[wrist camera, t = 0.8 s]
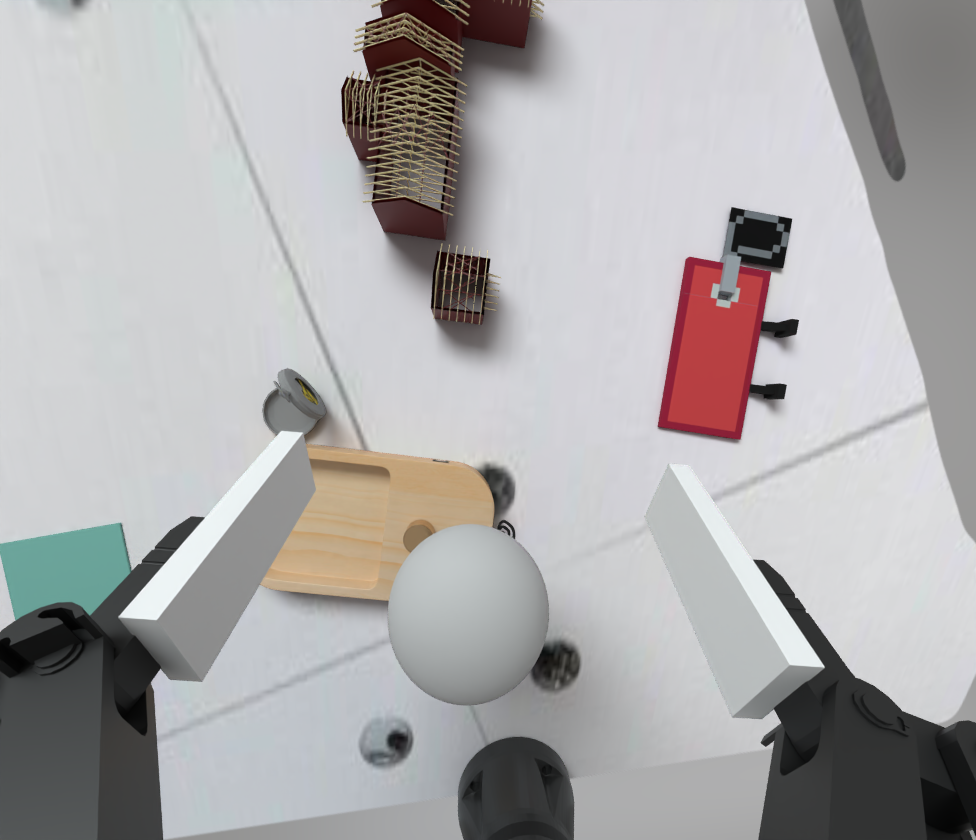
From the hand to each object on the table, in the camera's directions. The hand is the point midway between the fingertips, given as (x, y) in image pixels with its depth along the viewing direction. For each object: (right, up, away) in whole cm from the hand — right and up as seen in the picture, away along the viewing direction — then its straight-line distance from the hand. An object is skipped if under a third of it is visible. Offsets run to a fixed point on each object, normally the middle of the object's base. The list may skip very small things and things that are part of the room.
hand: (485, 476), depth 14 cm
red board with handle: (+33, +15, +37) cm, 51 cm away
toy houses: (-5, +36, +33) cm, 50 cm away
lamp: (-13, -11, +34) cm, 38 cm away
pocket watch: (-23, +4, +33) cm, 40 cm away
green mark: (-51, -19, +32) cm, 63 cm away
